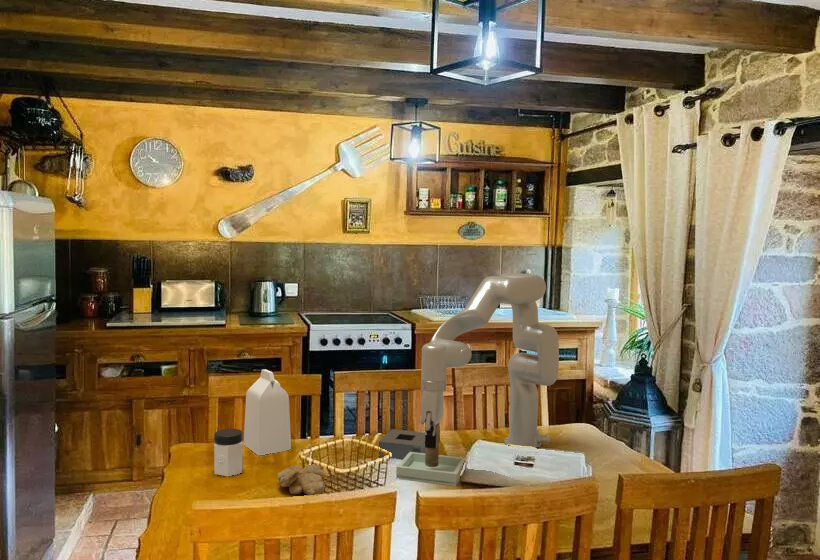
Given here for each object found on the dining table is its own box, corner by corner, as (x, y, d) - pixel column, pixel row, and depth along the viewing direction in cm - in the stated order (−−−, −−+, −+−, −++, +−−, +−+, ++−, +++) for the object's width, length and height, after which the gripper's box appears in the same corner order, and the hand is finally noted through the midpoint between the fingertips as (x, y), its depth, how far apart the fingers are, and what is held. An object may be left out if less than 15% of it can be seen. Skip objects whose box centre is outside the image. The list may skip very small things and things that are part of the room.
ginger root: (282, 472, 193) (288, 447, 192) (332, 488, 191) (339, 463, 190) (261, 495, 178) (268, 468, 177) (316, 513, 176) (323, 486, 174)
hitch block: (431, 447, 221) (431, 433, 221) (420, 461, 208) (420, 446, 207) (391, 443, 225) (391, 429, 225) (378, 456, 212) (378, 441, 211)
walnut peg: (439, 463, 199) (440, 424, 198) (436, 467, 195) (437, 428, 194) (427, 461, 200) (427, 422, 199) (423, 466, 196) (424, 426, 195)
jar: (207, 474, 194) (207, 434, 193) (223, 465, 201) (223, 427, 200) (234, 478, 191) (234, 438, 190) (249, 469, 199) (249, 430, 198)
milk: (243, 446, 219) (243, 369, 217) (275, 440, 226) (275, 365, 224) (258, 456, 210) (258, 376, 208) (291, 450, 216) (291, 372, 214)
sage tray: (465, 469, 202) (466, 458, 201) (456, 486, 188) (456, 474, 188) (409, 462, 207) (409, 451, 206) (396, 478, 193) (396, 466, 193)
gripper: (428, 378, 204) (427, 435, 206) (413, 390, 188) (412, 452, 190) (452, 380, 202) (450, 438, 204) (439, 392, 186) (437, 455, 188)
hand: (432, 444), depth 197 cm, fingers closed on walnut peg, 4 cm apart
